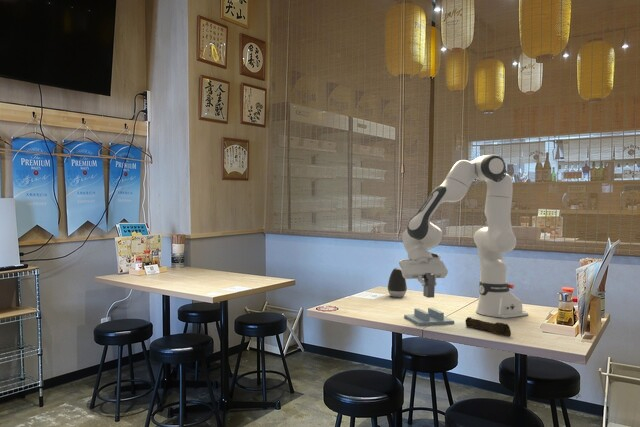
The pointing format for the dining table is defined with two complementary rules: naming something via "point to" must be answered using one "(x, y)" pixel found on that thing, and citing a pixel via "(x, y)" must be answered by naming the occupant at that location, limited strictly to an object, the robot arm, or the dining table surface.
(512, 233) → the robot arm
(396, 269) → the black egg shape
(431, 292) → the end link
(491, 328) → the dark brown bar
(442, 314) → the keeper
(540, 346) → the dining table surface
